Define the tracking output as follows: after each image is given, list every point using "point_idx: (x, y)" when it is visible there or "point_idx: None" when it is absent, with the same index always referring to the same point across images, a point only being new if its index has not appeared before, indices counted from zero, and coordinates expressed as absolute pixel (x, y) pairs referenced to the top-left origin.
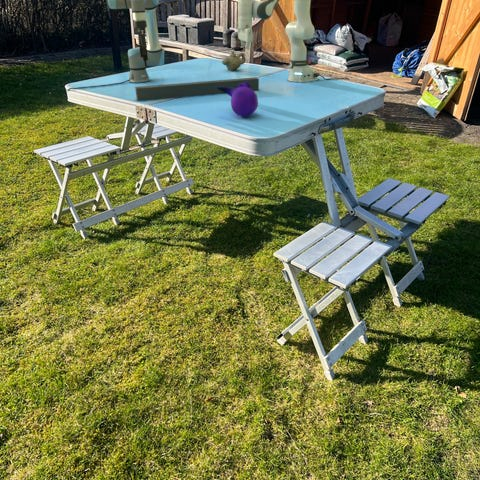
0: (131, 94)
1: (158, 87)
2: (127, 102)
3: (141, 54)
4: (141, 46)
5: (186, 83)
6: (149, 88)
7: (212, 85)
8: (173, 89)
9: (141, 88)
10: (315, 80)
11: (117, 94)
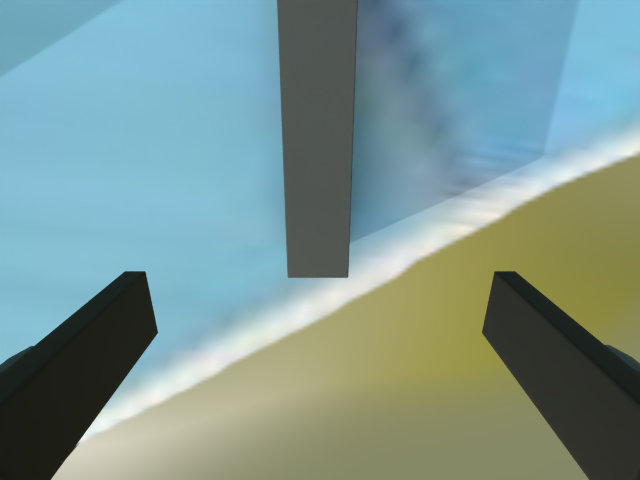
0: (160, 261)
1: (353, 116)
2: (350, 295)
3: (131, 348)
4: (12, 470)
5: None
6: (350, 187)
7: None
8: None
9: (348, 243)
10: None
11: None
